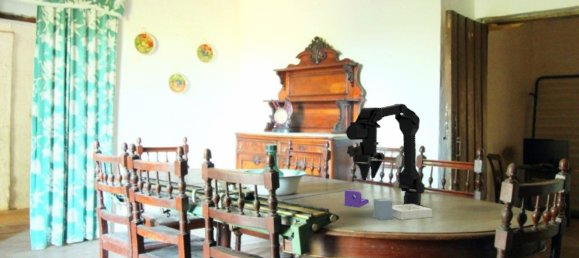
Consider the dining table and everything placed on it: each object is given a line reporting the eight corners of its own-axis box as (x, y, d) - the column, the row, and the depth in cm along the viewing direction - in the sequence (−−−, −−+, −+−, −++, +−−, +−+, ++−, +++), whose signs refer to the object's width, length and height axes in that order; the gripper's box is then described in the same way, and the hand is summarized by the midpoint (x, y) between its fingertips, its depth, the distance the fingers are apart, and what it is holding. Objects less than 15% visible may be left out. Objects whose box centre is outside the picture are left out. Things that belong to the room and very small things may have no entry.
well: (412, 211, 189) (412, 203, 189) (431, 217, 178) (432, 209, 178) (383, 213, 184) (383, 206, 184) (401, 219, 173) (401, 211, 172)
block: (384, 216, 178) (384, 198, 178) (392, 219, 174) (392, 200, 174) (373, 217, 177) (373, 199, 176) (380, 220, 172) (381, 201, 172)
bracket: (359, 208, 197) (359, 192, 196) (344, 206, 200) (344, 190, 200) (368, 203, 207) (368, 188, 207) (354, 202, 210) (354, 187, 210)
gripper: (359, 138, 194) (359, 175, 194) (340, 139, 178) (339, 180, 178) (385, 139, 188) (384, 177, 188) (367, 140, 172) (367, 182, 172)
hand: (368, 179), depth 182 cm, fingers open, 9 cm apart
